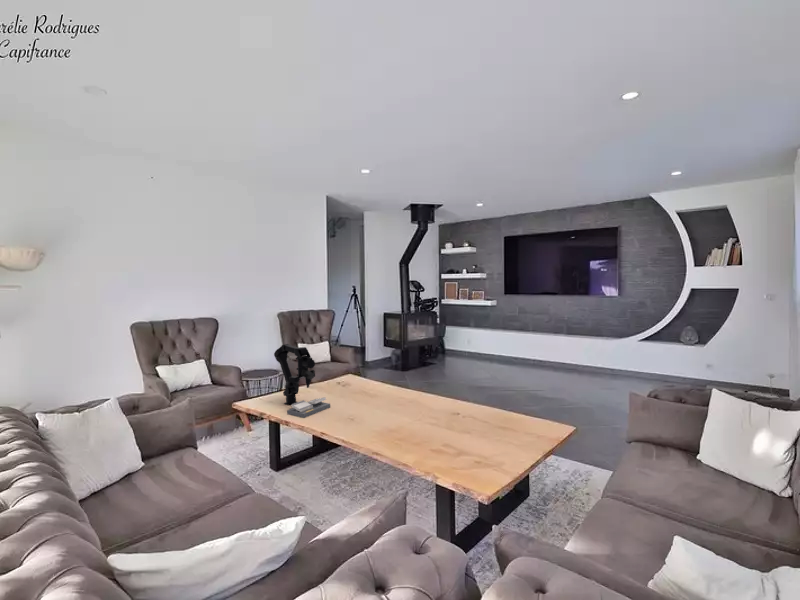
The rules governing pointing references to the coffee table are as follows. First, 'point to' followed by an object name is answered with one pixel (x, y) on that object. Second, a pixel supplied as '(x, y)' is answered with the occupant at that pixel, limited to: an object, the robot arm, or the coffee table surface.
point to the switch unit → (315, 409)
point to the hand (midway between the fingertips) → (302, 389)
